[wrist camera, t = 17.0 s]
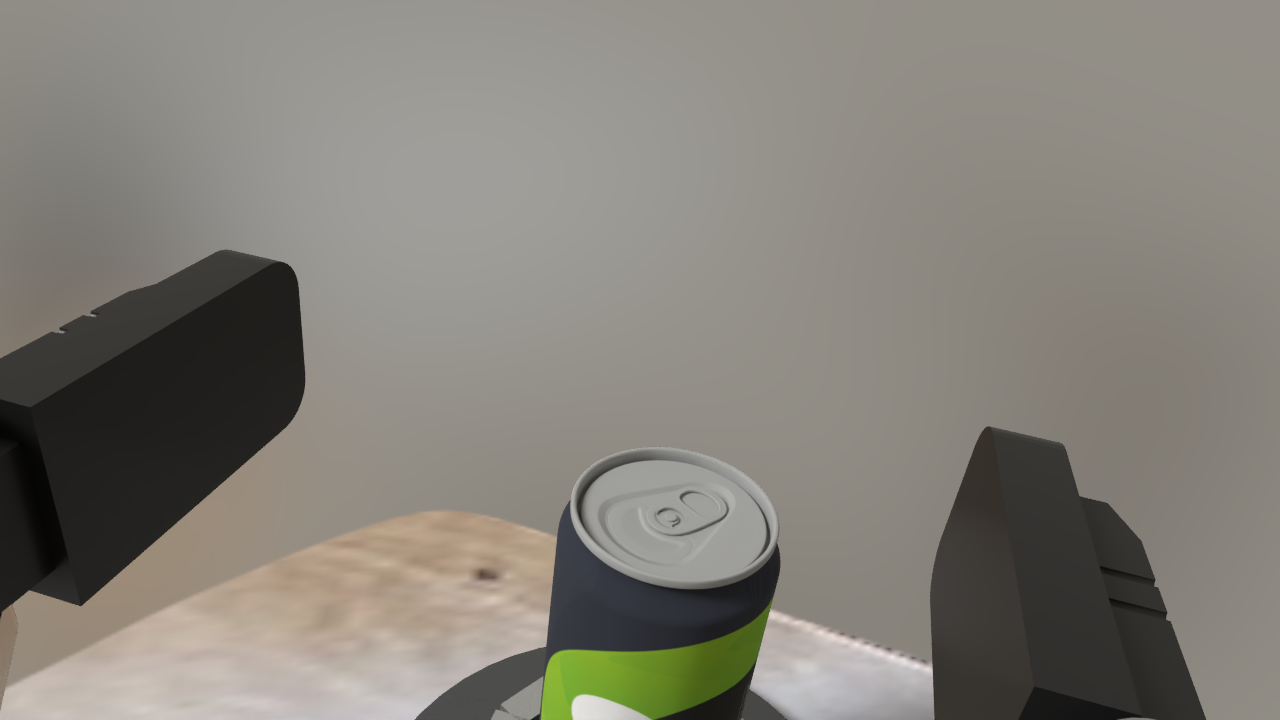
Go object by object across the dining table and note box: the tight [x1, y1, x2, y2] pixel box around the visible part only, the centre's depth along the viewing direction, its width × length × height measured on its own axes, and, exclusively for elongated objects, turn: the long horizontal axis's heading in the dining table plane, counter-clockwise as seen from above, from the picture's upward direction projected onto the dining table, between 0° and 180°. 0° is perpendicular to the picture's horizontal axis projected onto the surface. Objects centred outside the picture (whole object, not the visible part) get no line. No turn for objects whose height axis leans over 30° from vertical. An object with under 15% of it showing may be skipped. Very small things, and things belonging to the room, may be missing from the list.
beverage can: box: [539, 447, 780, 720], centre depth 28 cm, size 6×6×15 cm
